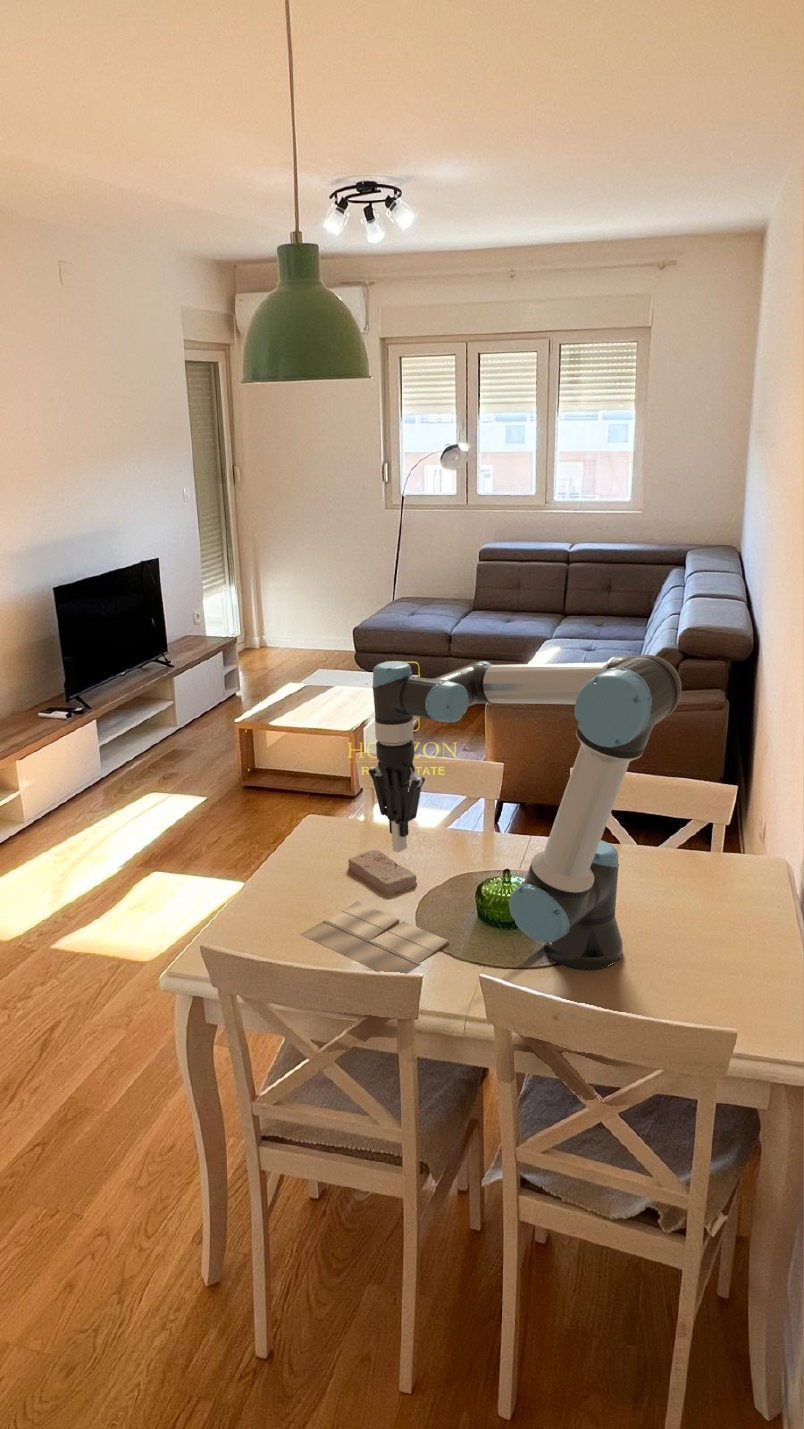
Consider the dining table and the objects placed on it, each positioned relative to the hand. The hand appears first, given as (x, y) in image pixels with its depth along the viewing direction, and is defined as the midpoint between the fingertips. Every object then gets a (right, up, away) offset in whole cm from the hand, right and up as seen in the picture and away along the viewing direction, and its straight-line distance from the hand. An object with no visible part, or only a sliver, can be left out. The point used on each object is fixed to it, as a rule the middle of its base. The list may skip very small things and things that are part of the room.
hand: (399, 849), depth 203 cm
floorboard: (-8, -20, -6) cm, 23 cm away
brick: (-4, -11, +23) cm, 26 cm away
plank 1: (-7, -16, +4) cm, 18 cm away
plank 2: (+2, -19, -5) cm, 19 cm away
